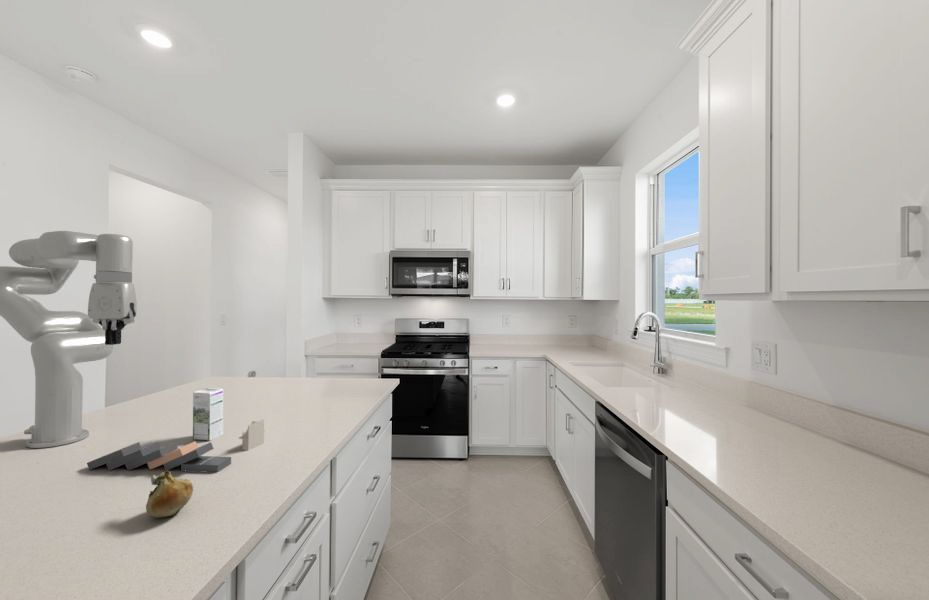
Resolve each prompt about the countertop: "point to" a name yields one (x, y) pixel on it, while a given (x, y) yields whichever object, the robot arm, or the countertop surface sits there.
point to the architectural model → (253, 435)
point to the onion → (168, 495)
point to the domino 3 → (151, 456)
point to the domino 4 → (172, 455)
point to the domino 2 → (133, 456)
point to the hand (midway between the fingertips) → (113, 344)
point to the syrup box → (207, 414)
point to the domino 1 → (113, 456)
